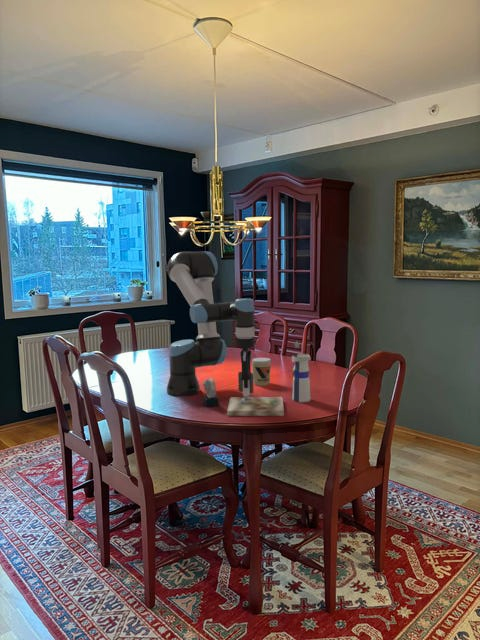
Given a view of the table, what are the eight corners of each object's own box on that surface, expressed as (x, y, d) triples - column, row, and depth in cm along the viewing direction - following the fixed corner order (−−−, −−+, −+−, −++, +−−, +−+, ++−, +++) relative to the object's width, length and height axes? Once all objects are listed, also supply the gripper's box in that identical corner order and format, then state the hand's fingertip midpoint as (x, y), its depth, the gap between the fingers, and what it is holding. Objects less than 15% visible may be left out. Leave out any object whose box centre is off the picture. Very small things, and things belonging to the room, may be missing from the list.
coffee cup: (255, 387, 228) (255, 362, 227) (249, 382, 237) (249, 358, 236) (274, 385, 231) (273, 360, 229) (267, 380, 240) (267, 356, 238)
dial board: (227, 415, 188) (227, 410, 188) (230, 401, 206) (230, 396, 206) (283, 415, 187) (283, 410, 187) (282, 401, 205) (282, 396, 205)
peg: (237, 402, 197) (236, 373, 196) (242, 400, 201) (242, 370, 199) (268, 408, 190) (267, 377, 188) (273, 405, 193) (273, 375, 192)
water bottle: (286, 399, 207) (286, 342, 204) (299, 395, 213) (299, 339, 210) (302, 403, 202) (302, 344, 198) (314, 399, 208) (314, 341, 204)
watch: (214, 401, 207) (213, 376, 206) (220, 406, 200) (219, 380, 198) (201, 402, 205) (201, 377, 204) (207, 408, 198) (206, 382, 196)
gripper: (252, 340, 185) (254, 399, 188) (256, 333, 202) (257, 388, 204) (233, 340, 186) (235, 399, 189) (238, 334, 202) (240, 388, 205)
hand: (247, 393), depth 197 cm, fingers closed on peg, 3 cm apart
